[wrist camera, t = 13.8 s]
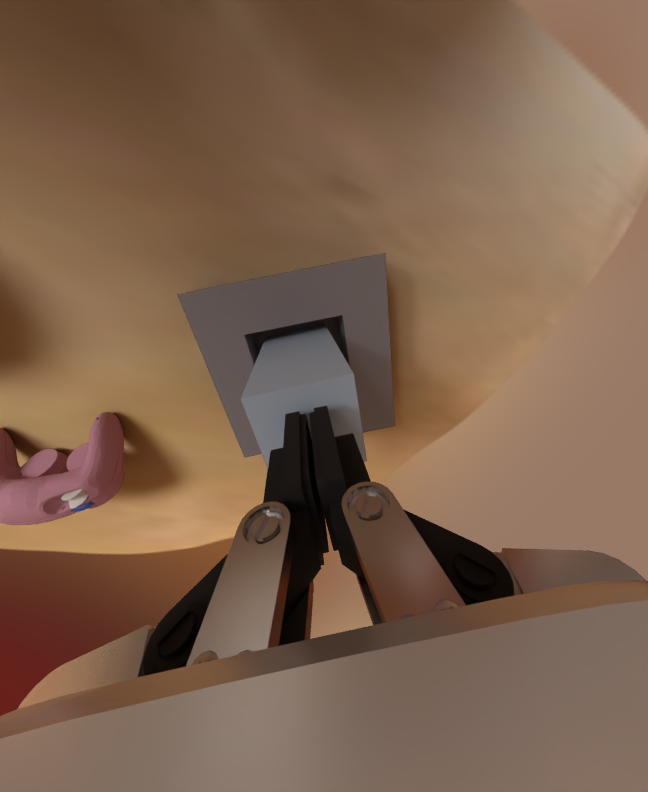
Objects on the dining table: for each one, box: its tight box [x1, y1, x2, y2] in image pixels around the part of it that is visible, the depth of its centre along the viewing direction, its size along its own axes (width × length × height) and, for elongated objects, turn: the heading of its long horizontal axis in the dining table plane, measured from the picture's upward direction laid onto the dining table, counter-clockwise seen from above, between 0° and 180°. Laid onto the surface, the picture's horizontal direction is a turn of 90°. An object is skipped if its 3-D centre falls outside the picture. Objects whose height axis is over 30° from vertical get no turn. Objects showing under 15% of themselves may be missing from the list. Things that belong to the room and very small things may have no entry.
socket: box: [177, 253, 395, 457], centre depth 18 cm, size 12×12×3 cm
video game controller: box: [0, 412, 124, 525], centre depth 19 cm, size 10×5×7 cm, turn 96°
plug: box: [241, 324, 367, 468], centre depth 15 cm, size 4×4×10 cm
